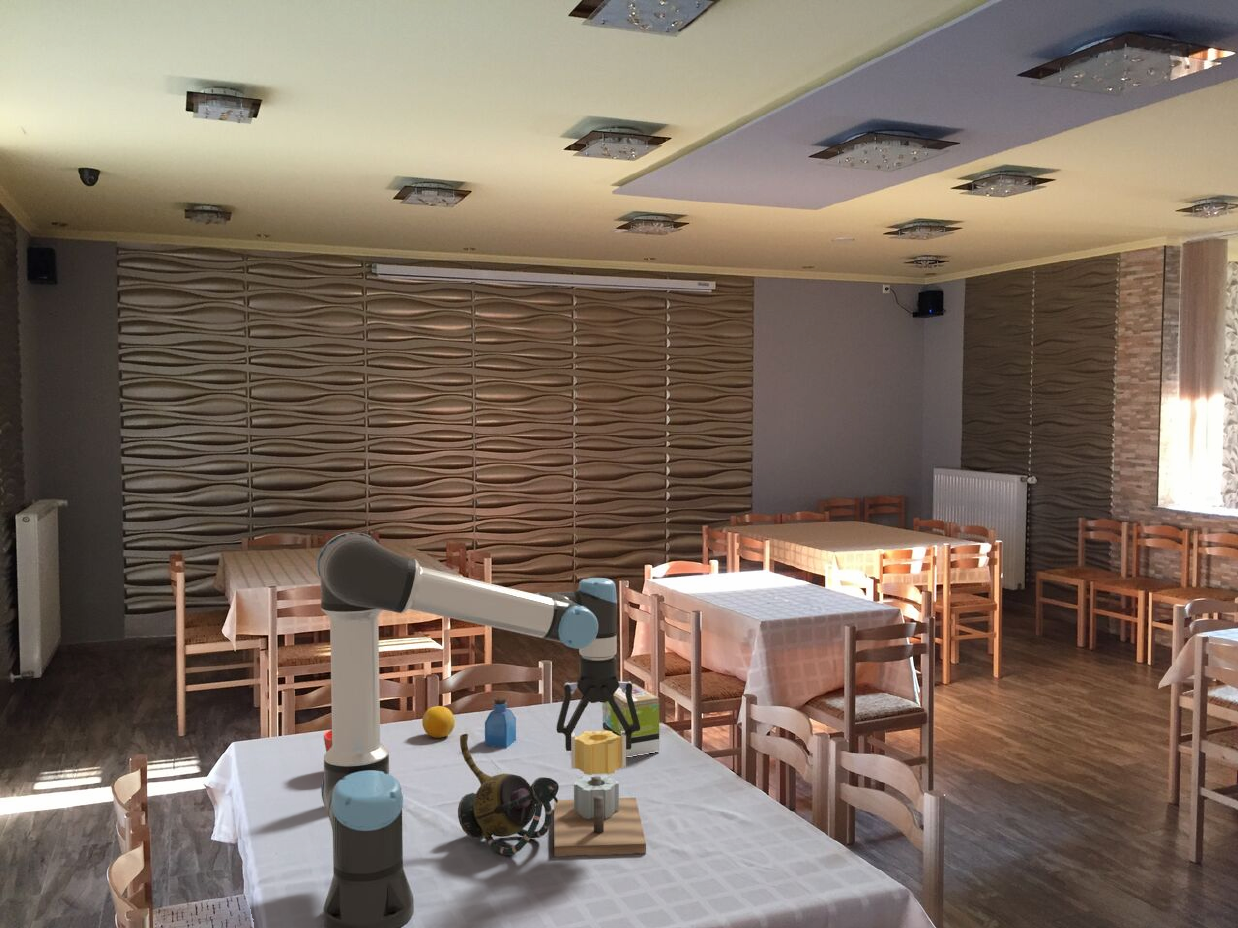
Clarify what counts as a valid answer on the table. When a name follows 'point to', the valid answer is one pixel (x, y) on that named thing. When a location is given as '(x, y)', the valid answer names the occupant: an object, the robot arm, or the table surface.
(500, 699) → the perfume bottle
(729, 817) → the table surface
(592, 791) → the pale grey gear
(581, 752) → the ochre gear
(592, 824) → the gear board
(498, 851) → the teapot
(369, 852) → the robot arm
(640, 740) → the tea box
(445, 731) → the fruit
